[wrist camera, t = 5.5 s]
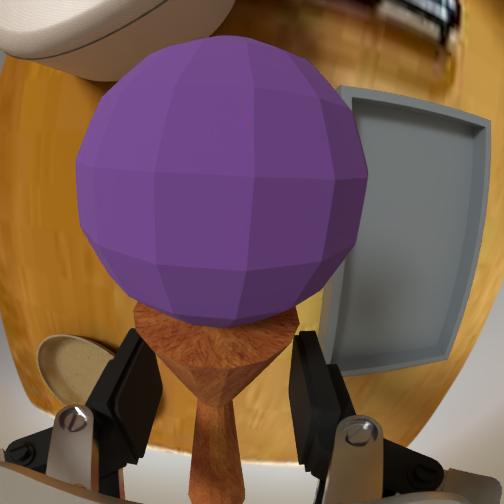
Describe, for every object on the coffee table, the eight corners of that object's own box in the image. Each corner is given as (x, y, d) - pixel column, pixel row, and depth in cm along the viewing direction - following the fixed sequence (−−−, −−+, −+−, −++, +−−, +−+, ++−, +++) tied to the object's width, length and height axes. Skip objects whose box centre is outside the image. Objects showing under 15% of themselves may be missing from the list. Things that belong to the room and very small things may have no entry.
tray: (331, 91, 21) (341, 85, 19) (474, 120, 21) (490, 120, 19) (314, 362, 29) (319, 379, 27) (437, 346, 29) (447, 359, 27)
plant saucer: (92, 418, 33) (86, 431, 31) (27, 338, 29) (17, 349, 26) (175, 405, 32) (171, 421, 29) (103, 306, 27) (93, 319, 25)
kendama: (152, 517, 11) (19, 38, 3) (183, 443, 16) (166, 71, 8) (258, 543, 10) (433, 8, 2) (274, 463, 15) (357, 81, 7)
